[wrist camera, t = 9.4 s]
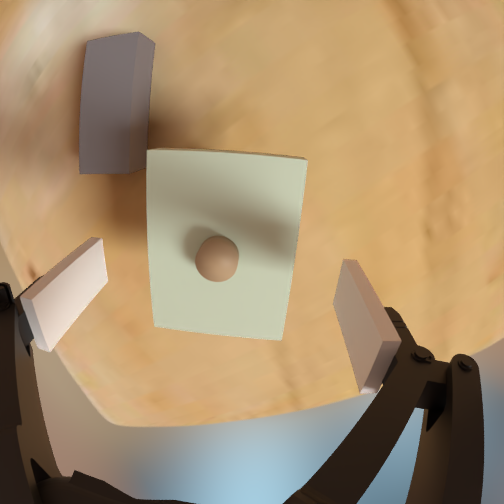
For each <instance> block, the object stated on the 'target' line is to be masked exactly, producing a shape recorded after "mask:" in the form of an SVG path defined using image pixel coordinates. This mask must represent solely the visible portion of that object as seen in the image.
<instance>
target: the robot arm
mask: <svg viewBox="0 0 504 504" xmlns="http://www.w3.org/2000/svg"><path fill="white" fill-rule="evenodd" d="M107 282H108V278H107V271H106V264H105V257H104V249H103V241H102V238H96V237H91V238H89V239H88V240H87V241H86V242H84V243H83V244H82V245H80V246H79V247H78V248H77V249H75V250H74V251H73V252H71V253H70V254H69V255H68V256H67V257H65V258H64V259H63V260H62V261H60V262H59V263H58V264H57V265H56V266H54V267H53V268H52V269H51V270H50V271H48V272H47V273H46V274H45V275H43V276H41V277H39V278H38V279H37V280H35V281H34V282H33V284H31V285H30V286H28V288H26V289H25V290H24V291H23V292H22V293H21V294H20V295H19V296H17V297H16V298H15V299H14V298H13V295H12V291H11V288H10V285H9V284H8V283H5V282H2V283H0V504H194V503H189V502H183V501H177V500H141V499H135V498H132V497H131V496H129V495H127V494H125V493H123V492H122V491H120V490H118V489H116V488H114V487H113V486H111V485H110V484H108V483H106V482H105V481H102V480H99V479H97V478H94V477H91V476H88V475H86V474H83V473H81V472H78V471H74V473H73V475H72V477H64V476H62V475H61V473H60V471H59V469H58V467H57V465H56V461H55V458H54V455H53V452H52V448H51V445H50V441H49V437H48V434H47V430H46V426H45V421H44V417H43V413H42V408H41V403H40V398H39V392H38V387H37V381H36V374H35V367H34V359H33V350H32V347H31V344H30V342H31V341H32V339H35V342H36V344H37V347H38V348H39V349H42V350H45V351H48V352H51V350H52V349H53V348H54V346H55V345H56V344H57V343H58V341H59V340H60V339H61V337H62V336H63V335H64V334H65V332H66V331H67V330H68V328H69V327H70V326H71V325H72V324H73V322H74V321H75V320H76V319H77V317H78V316H79V315H80V314H81V312H82V311H83V310H84V309H85V308H86V306H87V305H88V304H89V303H90V302H91V300H92V299H93V298H94V297H95V296H96V295H97V293H98V292H99V291H100V290H101V289H102V288H103V286H104V285H105V284H106V283H107ZM333 305H334V308H335V311H336V315H337V318H338V321H339V324H340V327H341V330H342V334H343V337H344V340H345V343H346V347H347V350H348V353H349V357H350V360H351V364H352V367H353V371H354V374H355V378H356V381H357V385H358V388H359V392H360V394H362V393H377V392H378V390H379V388H380V386H381V384H382V383H383V386H382V388H381V389H380V391H379V392H378V394H377V395H376V397H375V399H374V400H373V401H372V403H371V404H370V406H369V407H368V408H367V410H366V411H365V413H364V414H363V415H362V417H361V418H360V420H359V421H358V422H357V423H356V425H355V426H354V427H353V429H352V430H351V432H350V433H349V434H348V435H347V436H346V438H345V439H344V440H343V441H342V443H341V444H340V445H339V446H338V448H337V449H336V450H335V451H334V453H333V454H332V455H331V456H330V457H329V458H328V460H327V461H326V462H325V463H324V464H323V465H322V466H321V468H320V469H319V470H318V471H317V472H316V473H315V474H314V475H313V476H312V477H311V479H310V480H309V481H308V482H307V483H306V484H305V485H304V486H303V487H302V488H301V489H299V490H297V491H296V492H295V493H294V494H292V495H291V497H289V498H288V499H287V500H286V501H285V502H284V503H283V504H356V503H357V502H358V501H359V499H360V498H361V497H362V495H363V494H364V493H365V491H366V489H367V488H368V487H369V485H370V484H371V482H372V481H373V480H374V478H375V477H376V475H377V473H378V472H379V470H380V469H381V467H382V466H383V464H384V463H385V461H386V459H387V458H388V456H389V454H390V453H391V451H392V449H393V447H394V446H395V444H396V442H397V441H398V439H399V437H400V435H401V433H402V432H403V430H404V428H405V426H406V424H407V422H408V420H409V418H410V416H411V414H412V412H413V410H414V408H421V409H424V415H423V423H422V429H421V435H420V441H419V447H418V452H417V458H416V463H415V467H414V472H413V476H412V480H411V485H410V489H409V492H408V497H407V500H406V503H405V504H481V497H482V486H483V471H484V419H483V403H482V391H481V382H480V374H479V367H478V365H477V363H476V362H475V361H474V359H473V358H471V357H470V356H467V355H465V354H457V355H455V356H454V357H453V358H452V360H451V361H450V363H448V362H442V361H437V360H435V358H434V355H433V354H432V353H431V352H430V351H429V350H428V349H426V348H424V347H422V346H418V345H417V344H416V342H415V340H414V338H413V337H412V335H411V333H410V331H409V330H408V328H407V326H406V324H405V323H404V322H403V319H402V318H401V316H400V314H399V313H398V312H397V311H395V310H394V309H393V308H392V307H383V305H382V303H381V301H380V300H379V298H378V296H377V294H376V293H375V291H374V289H373V287H372V286H371V284H370V282H369V280H368V279H367V277H366V275H365V273H364V272H363V270H362V268H361V267H360V265H359V263H358V262H357V260H349V259H343V262H342V266H341V271H340V276H339V280H338V284H337V289H336V293H335V297H334V301H333Z"/></svg>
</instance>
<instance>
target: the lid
mask: <svg viewBox="0 0 504 504" xmlns="http://www.w3.org/2000/svg"><path fill="white" fill-rule="evenodd" d="M307 163H308V160H307V159H305V158H304V157H297V156H288V155H278V154H268V153H257V152H245V151H231V150H214V149H190V148H155V149H150V150H147V167H146V207H147V240H148V260H149V275H150V288H151V300H152V310H153V320H154V327H161V328H168V329H175V330H182V331H189V332H197V333H206V334H214V335H223V336H233V337H243V338H255V339H267V340H281V341H282V335H283V330H284V324H285V318H286V312H287V306H288V300H289V294H290V288H291V281H292V275H293V268H294V262H295V255H296V248H297V241H298V234H299V227H300V219H301V212H302V204H303V196H304V188H305V180H306V171H307Z"/></svg>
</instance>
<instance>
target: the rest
mask: <svg viewBox="0 0 504 504" xmlns="http://www.w3.org/2000/svg"><path fill="white" fill-rule="evenodd" d="M154 50H155V43H154V42H153V41H152V40H150V39H149V38H147V37H146V36H144V35H143V34H142V33H140V32H133V33H127V34H121V35H115V36H110V37H105V38H100V39H95V40H91V41H87V46H86V53H85V61H84V69H83V79H82V90H81V104H80V125H79V172H80V174H130V173H133V172H135V171H138V170H141V169H144V168H146V167H147V143H148V120H149V103H150V90H151V78H152V68H153V58H154Z"/></svg>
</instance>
